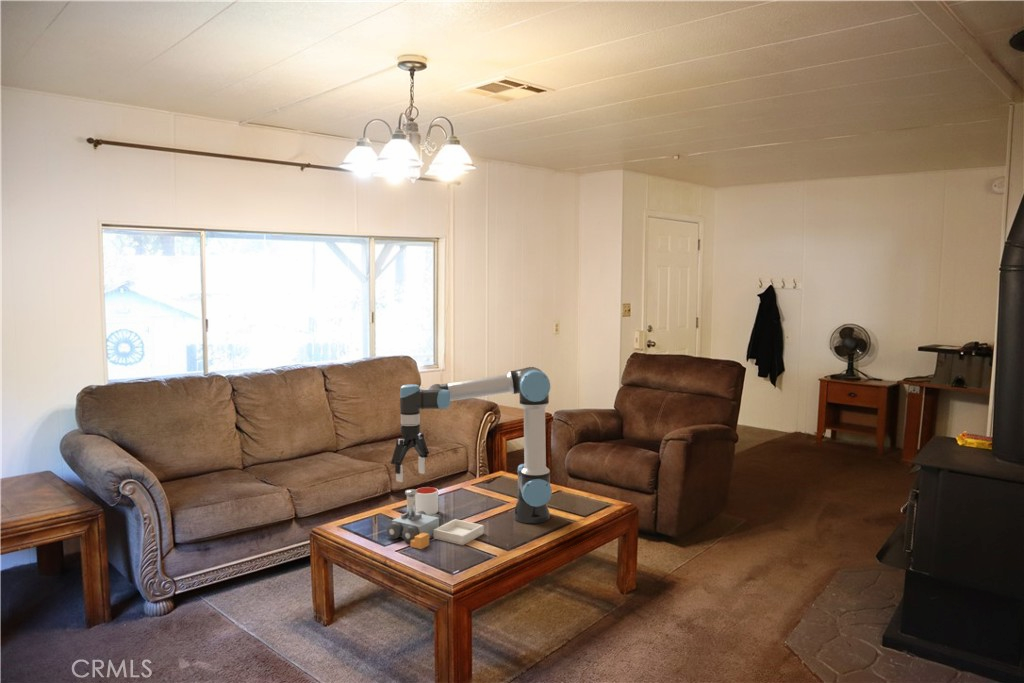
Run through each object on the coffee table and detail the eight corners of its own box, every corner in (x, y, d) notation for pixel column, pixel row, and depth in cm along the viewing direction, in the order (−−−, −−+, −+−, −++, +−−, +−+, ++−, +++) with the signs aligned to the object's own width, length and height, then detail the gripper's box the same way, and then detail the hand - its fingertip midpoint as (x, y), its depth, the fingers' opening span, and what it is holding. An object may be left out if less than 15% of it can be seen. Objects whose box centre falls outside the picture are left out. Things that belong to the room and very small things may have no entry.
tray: (483, 533, 268) (483, 525, 268) (462, 545, 256) (462, 536, 256) (455, 527, 275) (454, 519, 275) (433, 538, 263) (433, 529, 263)
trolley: (443, 530, 272) (443, 511, 271) (413, 545, 256) (413, 525, 255) (416, 523, 279) (416, 506, 279) (385, 538, 263) (385, 519, 263)
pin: (419, 517, 269) (419, 490, 268) (412, 520, 265) (411, 493, 264) (410, 515, 272) (410, 488, 271) (403, 518, 268) (402, 491, 267)
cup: (410, 515, 290) (410, 492, 289) (421, 508, 299) (421, 486, 298) (431, 518, 286) (431, 494, 286) (442, 510, 296) (442, 488, 295)
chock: (429, 545, 256) (429, 533, 256) (420, 549, 252) (420, 538, 252) (419, 542, 259) (418, 531, 258) (410, 547, 255) (410, 535, 254)
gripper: (422, 418, 278) (423, 468, 280) (381, 428, 257) (382, 483, 258) (437, 419, 274) (437, 471, 276) (396, 430, 253) (397, 486, 254)
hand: (410, 477), depth 267 cm, fingers open, 13 cm apart
